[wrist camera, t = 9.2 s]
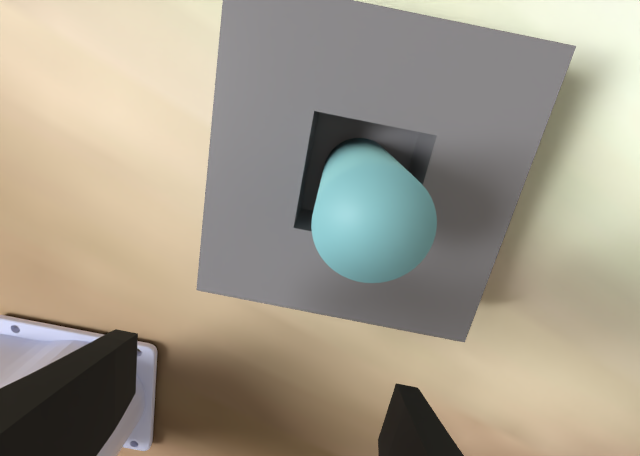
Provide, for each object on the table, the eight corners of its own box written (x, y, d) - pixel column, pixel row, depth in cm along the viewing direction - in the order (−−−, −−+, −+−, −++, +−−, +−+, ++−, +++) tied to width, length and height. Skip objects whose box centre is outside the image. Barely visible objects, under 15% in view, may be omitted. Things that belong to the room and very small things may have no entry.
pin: (319, 201, 17) (305, 274, 10) (328, 133, 16) (319, 156, 9) (385, 210, 17) (422, 290, 10) (398, 142, 16) (450, 173, 9)
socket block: (221, 258, 19) (196, 290, 16) (249, 3, 15) (225, -26, 12) (442, 302, 19) (464, 342, 16) (525, 59, 16) (576, 46, 12)
